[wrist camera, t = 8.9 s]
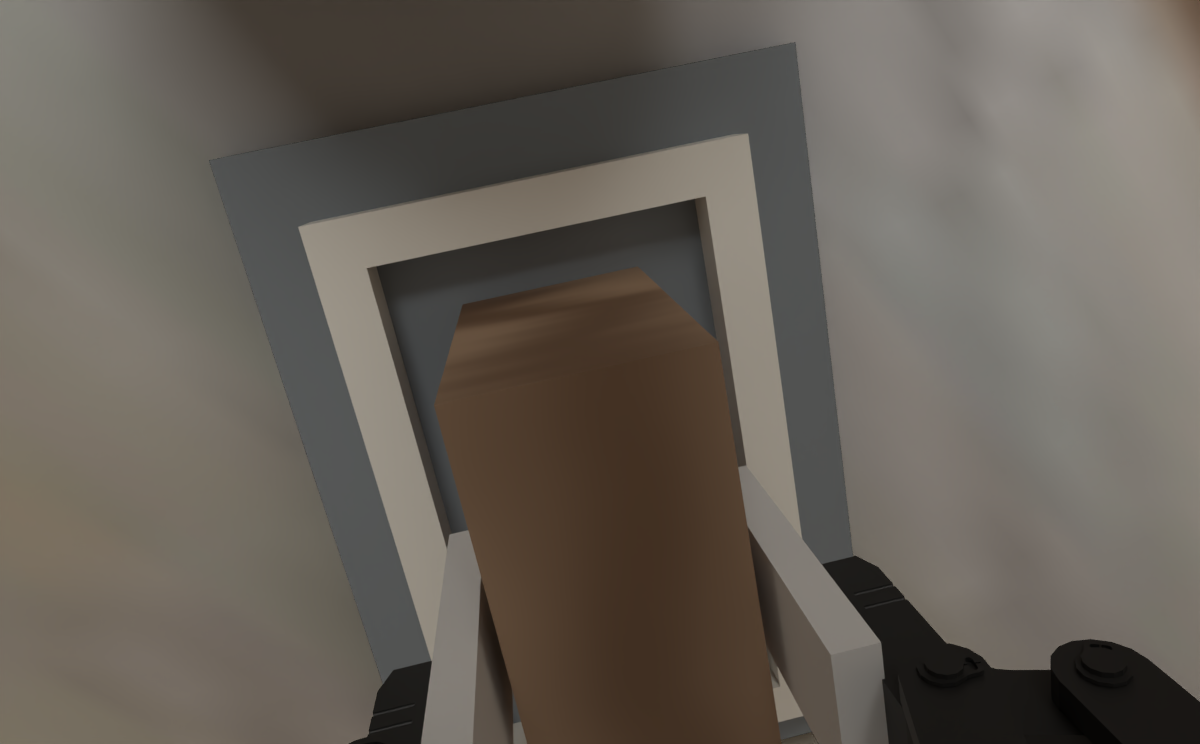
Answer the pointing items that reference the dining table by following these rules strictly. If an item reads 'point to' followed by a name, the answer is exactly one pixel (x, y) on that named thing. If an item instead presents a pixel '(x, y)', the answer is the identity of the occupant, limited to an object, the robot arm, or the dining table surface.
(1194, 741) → the robot arm
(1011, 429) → the dining table surface
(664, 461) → the walnut block
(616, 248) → the grey flat frame
